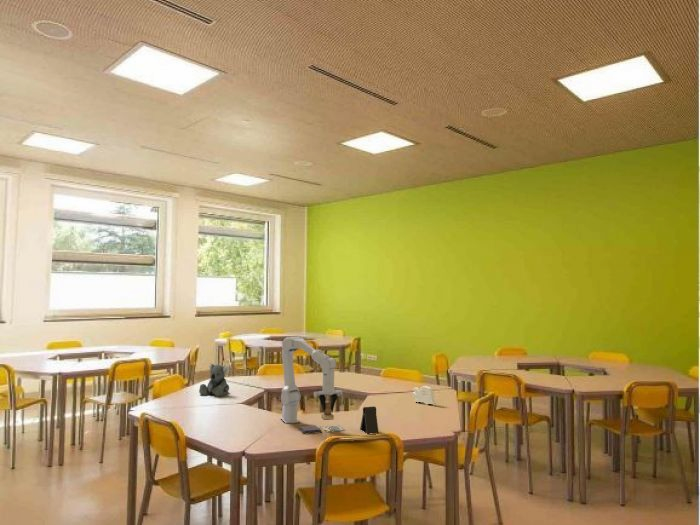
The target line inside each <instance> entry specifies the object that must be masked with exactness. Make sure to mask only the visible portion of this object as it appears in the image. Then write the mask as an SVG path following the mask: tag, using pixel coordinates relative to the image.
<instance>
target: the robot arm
mask: <svg viewBox="0 0 700 525" xmlns="http://www.w3.org/2000/svg"><path fill="white" fill-rule="evenodd" d="M281 345H282V346H281V347H282V350H281V360H282V371H283V379H284V380H283V382H284V386H283V388H282V389H281V395H280V401H281V403H282V407H281V409H282V410H281V417H280V418H281V419H283V421H284V422H285V423H284V422H283V421H282V422H283V423H284V424H294V423H295V424H296V423H300V420H298V404H299V402H300V401H301V398H302V397H301V393H300V390H299V387H298V386H297V385H296V381H295V380H296V379H295V369H294V368H295V367H294V358H293V354H294V353H295V352H296V351H298V350H302V351H304V352H305V353H307V354H308V355H309V356H311V360H313V361H314V362H315V363H317V364H318V365H320V368H321V370H322V390H317V391H313V396H314V397H318V399H319V401H320V404H321V409H322V411H323V412H324V411H325V402H327V401H326V400H327V396H329V399H330V402H331V411H334V407H335V404H336V401H337V400H338V398H339V395H341V396H343V390H341V389H339V390H335V369H336V368H337V364H338V363H337V359H335V357H331V356H329V355H328V354H325V353H324V352H323V350H322V349H315V348H313V347H312V346H311V345H310V344H309V343H308V342H307V341H306V340H305V339H304V338H303V337H301V336H299V335H297V336H290V337H289V336H287V337H285V338H284V339H283V340H282V341H281ZM281 419H280V420H281Z"/></svg>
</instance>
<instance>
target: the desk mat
mask: <svg viewBox="0 0 700 525" xmlns="http://www.w3.org/2000/svg"><path fill="white" fill-rule="evenodd" d="M322 427H323V428H324V427H325V429H326V428H327V427H329V428H328V429H329V430H330V432H329V433H333V432H332V431H335V432H344V431H343V430H346V429H345V428H343V427H342V426H341V425H339V424H334V425H325V426H322ZM330 428H331V429H330ZM327 431H328V430H327V429H326V431H325V432H326V433H328V432H327Z"/></svg>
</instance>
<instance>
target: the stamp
mask: <svg viewBox="0 0 700 525" xmlns="http://www.w3.org/2000/svg"><path fill="white" fill-rule="evenodd" d="M334 417H335V416H334V414H333V413H332V410H331V401H325V411H323V413H321V419H322V420H323V421H330V420H331V421H332V420H335V419H334Z"/></svg>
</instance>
